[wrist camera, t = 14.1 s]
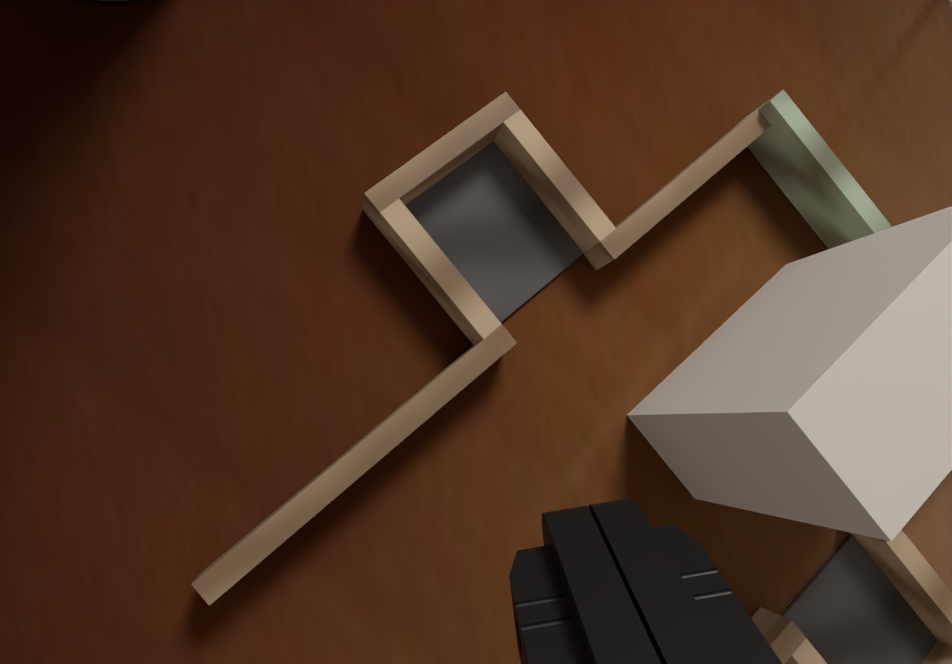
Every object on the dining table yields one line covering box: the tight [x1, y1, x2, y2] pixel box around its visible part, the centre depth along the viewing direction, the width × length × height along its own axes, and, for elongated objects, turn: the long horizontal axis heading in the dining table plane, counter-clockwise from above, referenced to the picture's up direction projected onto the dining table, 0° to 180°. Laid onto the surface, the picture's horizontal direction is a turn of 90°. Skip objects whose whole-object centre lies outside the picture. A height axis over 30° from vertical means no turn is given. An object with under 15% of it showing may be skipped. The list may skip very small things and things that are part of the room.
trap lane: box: [191, 90, 952, 664], centre depth 33 cm, size 41×39×4 cm
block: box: [627, 206, 952, 541], centre depth 31 cm, size 6×14×13 cm, turn 130°
